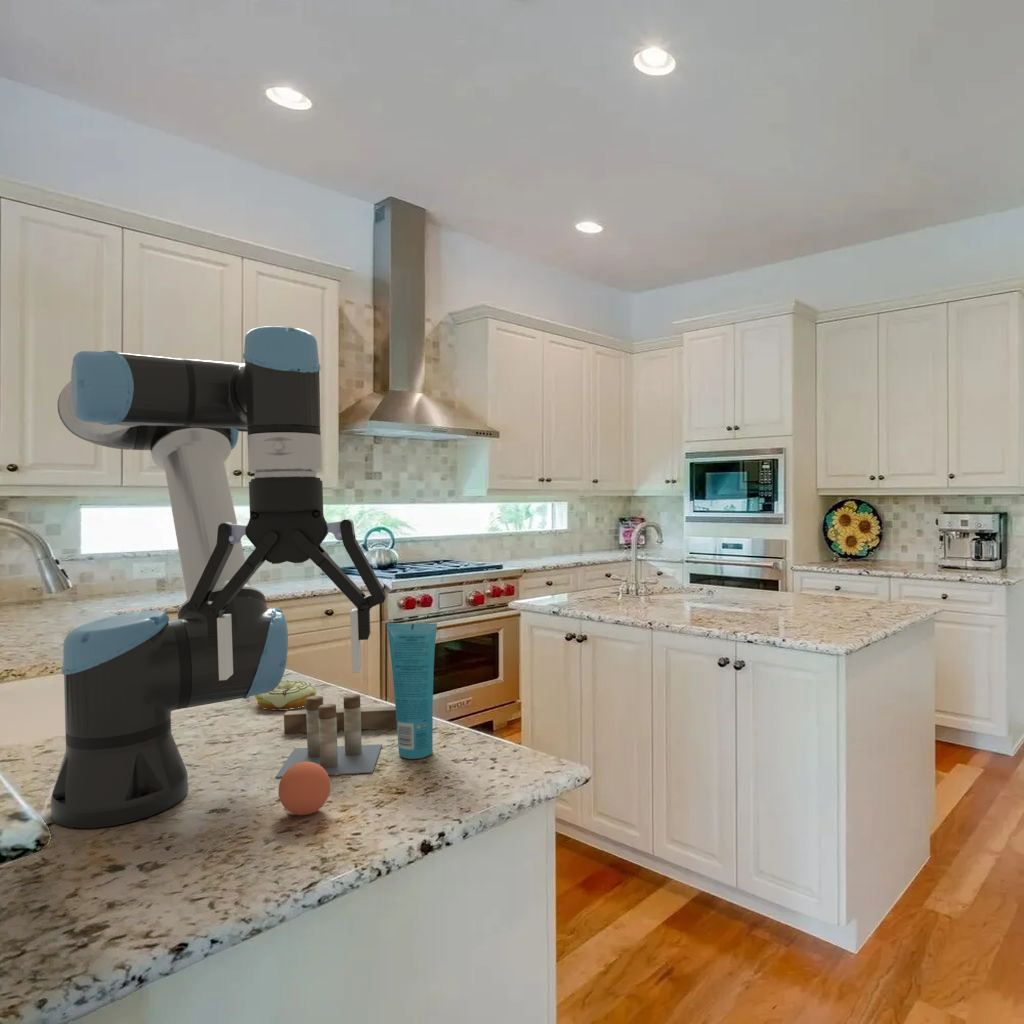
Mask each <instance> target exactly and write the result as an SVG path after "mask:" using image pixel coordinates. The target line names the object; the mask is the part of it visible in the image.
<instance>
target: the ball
mask: <svg viewBox="0 0 1024 1024" xmlns="http://www.w3.org/2000/svg"><path fill="white" fill-rule="evenodd" d="M331 787H332V786H331V779H330V775H329V776H328V774H327V772H326V771H325V769H324V768H323V767H322V766H320V765H319V764H316V763H314V762H300V763H297V764H295V765H293V766H292V767H290V768H289V769H288V770H287V771H286V772H285V773H284V775H283V776H282V778H280V781H279V785H278V790H277V791H278V798H279V801H280V803H281V805H282V807H284V809H285V810H286V811H288V812H289V813H290V814H293V815H296V816H307V815H310V814H313V813H315V812H317V811H318V810H320V809H321V808H322V807H323V806H324V805H325V804H326V802H327V800H328V799H329V795H330V792H331Z"/></svg>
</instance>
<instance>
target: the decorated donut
mask: <svg viewBox="0 0 1024 1024" xmlns="http://www.w3.org/2000/svg"><path fill="white" fill-rule="evenodd" d="M311 696H317V689H316V687H315V685H314V684H312V683H310V682H308V681H303V680H295V679H292V680H291V679H289V680H288V679H287V680H281V682H280V683H279V685H278V686H277V687H276V688H275V689H274V690H272V691H270V692H268V693H263V694H259V695H255V696H254V697H255V700H256V702H257V704H258V706H259V707H260V708H261V709H263V708H266V709H290V708H298V707H302V706H306V698H307V697H311ZM302 708H303V707H302ZM266 709H265V710H266ZM298 709H299V708H298Z"/></svg>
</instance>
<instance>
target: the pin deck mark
mask: <svg viewBox="0 0 1024 1024" xmlns="http://www.w3.org/2000/svg"><path fill="white" fill-rule="evenodd" d="M382 745H383V744H382V743H381V744H380V743H379V744H362V752H361V753H360V754H358V755H346V754H345V745H340V746H339V745H337V753H338V765H337V766H334V767H331V768H324V769H325V771H326V772H327V774H328V775H329V776H336V775H335V774H349V775H360V774H359V773H370V774H373V773H374V771H373V770H375V768H374V767H376V765H375V764H377V761H378V758H379V755H380V753H381V749H382ZM300 762H314V763H316V764H319V765H320V756H319V757H309V756H308V748H307V747H295V748H294V749H293V750H292V752H291V753H290V755H289V756H288V757H287V759H286V760H285V762H284V763H283V764H282V766H281V768H280V769H279V771H278V772H277V774H276V775H275V777H282V776H283V775H284V773H285V772H286V771H287V770H288V769H289V768H290V767H292V766H293V765H295V764H297V763H300ZM355 773H356V774H355ZM332 774H333V775H332Z"/></svg>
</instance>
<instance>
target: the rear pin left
mask: <svg viewBox="0 0 1024 1024" xmlns="http://www.w3.org/2000/svg"><path fill="white" fill-rule="evenodd" d="M342 700H343V709H344V731H343V732H344V746H345V754H346V755H358V754H360V753H361V752H362V745H363V744H362V730H361V709H360V708H361V695H360V694H357V693H356V694H355V693H354V694H351V693H350V694H346V695H343V699H342Z"/></svg>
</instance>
